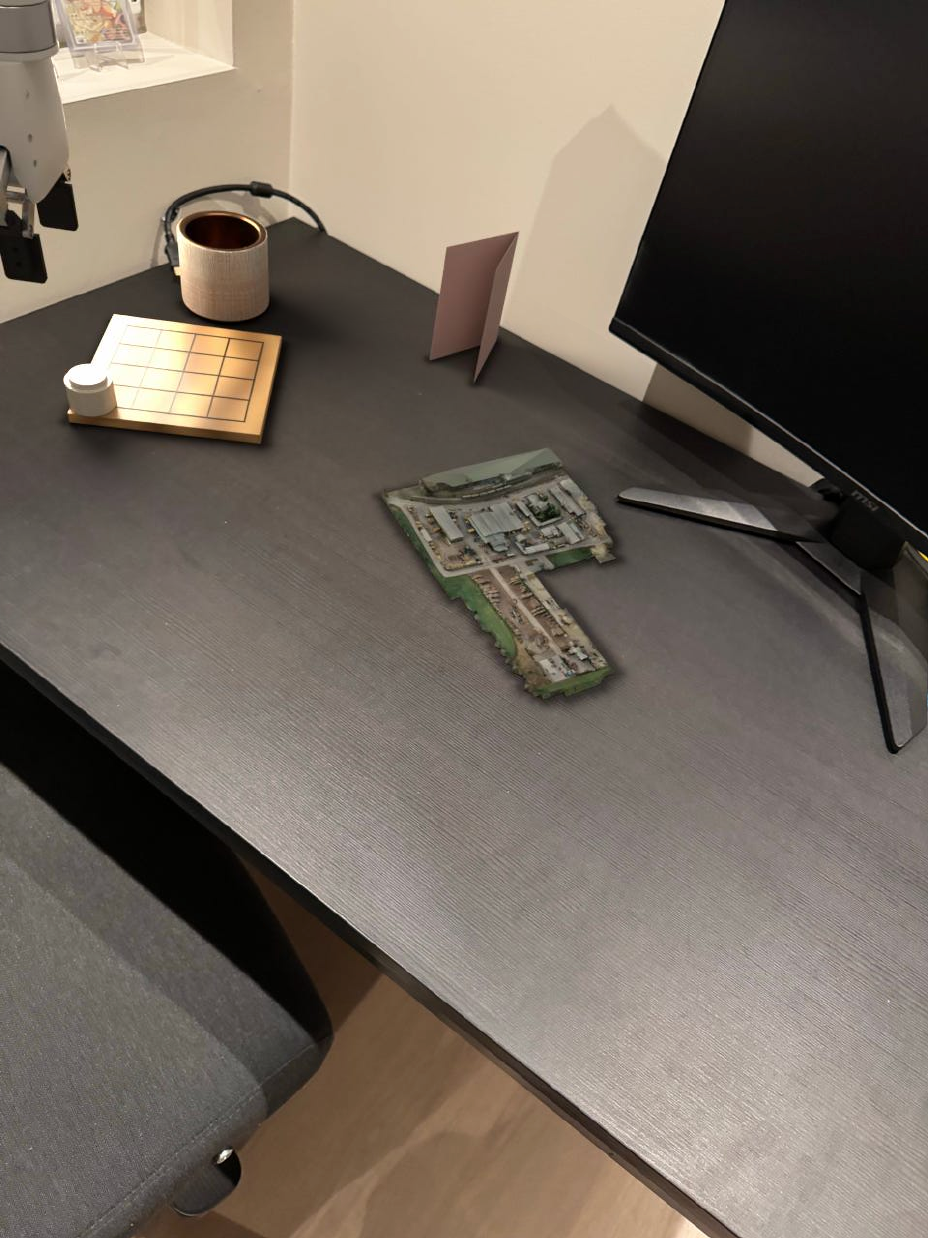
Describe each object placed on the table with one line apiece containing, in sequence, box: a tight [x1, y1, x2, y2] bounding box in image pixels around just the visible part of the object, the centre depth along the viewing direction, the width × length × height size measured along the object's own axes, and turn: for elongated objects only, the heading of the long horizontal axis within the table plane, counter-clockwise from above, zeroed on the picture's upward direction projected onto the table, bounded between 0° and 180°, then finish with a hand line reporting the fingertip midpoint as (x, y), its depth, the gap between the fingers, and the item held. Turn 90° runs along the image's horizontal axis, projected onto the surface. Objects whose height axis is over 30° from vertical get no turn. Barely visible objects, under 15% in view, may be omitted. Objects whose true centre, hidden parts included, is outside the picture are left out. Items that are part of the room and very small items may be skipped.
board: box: [67, 313, 283, 445], centre depth 97 cm, size 20×20×1 cm
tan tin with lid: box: [63, 363, 117, 417], centre depth 89 cm, size 5×5×4 cm
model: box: [381, 446, 617, 701], centre depth 86 cm, size 21×30×2 cm
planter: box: [176, 209, 270, 324], centre depth 106 cm, size 11×11×10 cm
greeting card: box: [429, 230, 520, 383], centre depth 105 cm, size 11×7×15 cm, turn 129°
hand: (44, 252), depth 73 cm, fingers open, 9 cm apart
